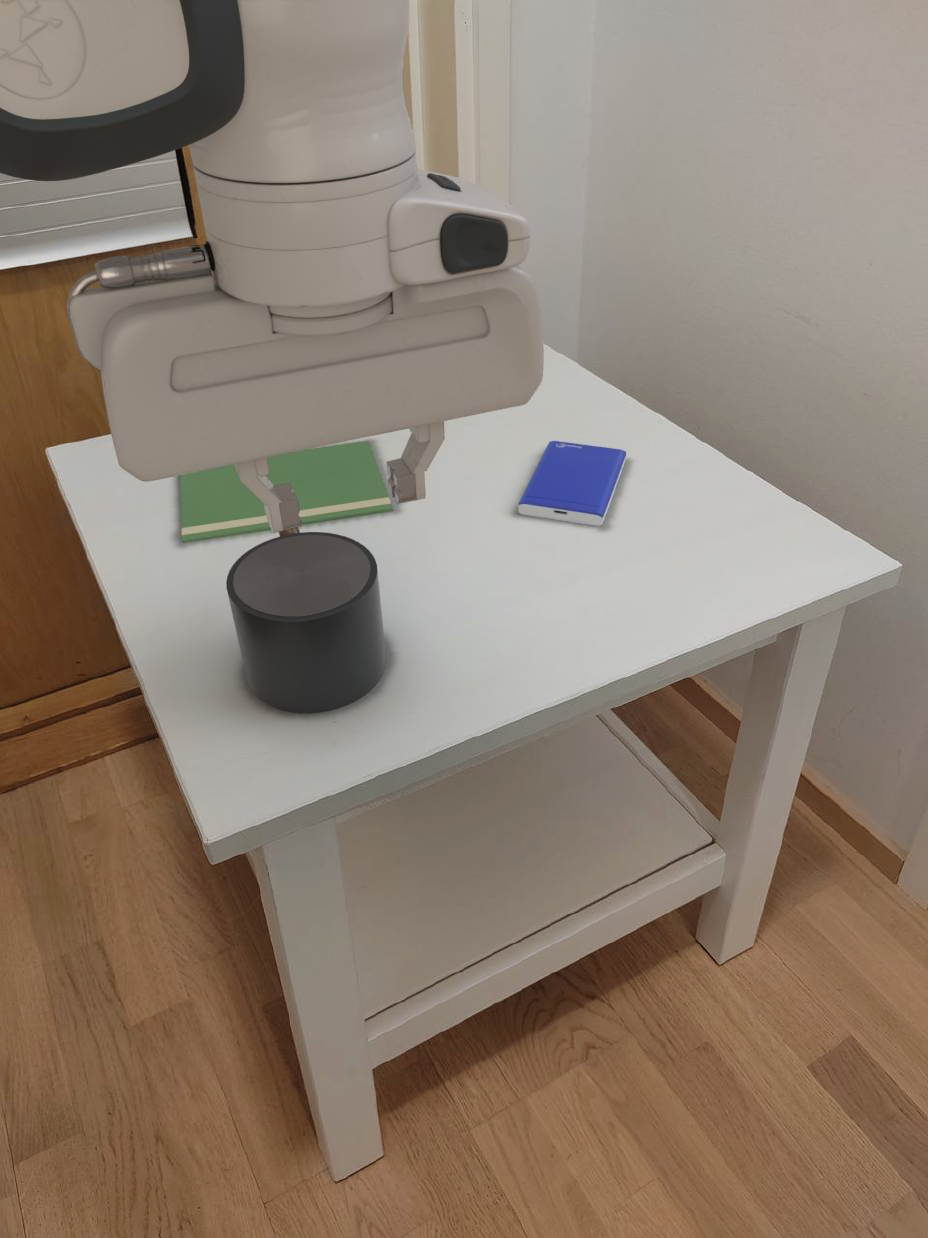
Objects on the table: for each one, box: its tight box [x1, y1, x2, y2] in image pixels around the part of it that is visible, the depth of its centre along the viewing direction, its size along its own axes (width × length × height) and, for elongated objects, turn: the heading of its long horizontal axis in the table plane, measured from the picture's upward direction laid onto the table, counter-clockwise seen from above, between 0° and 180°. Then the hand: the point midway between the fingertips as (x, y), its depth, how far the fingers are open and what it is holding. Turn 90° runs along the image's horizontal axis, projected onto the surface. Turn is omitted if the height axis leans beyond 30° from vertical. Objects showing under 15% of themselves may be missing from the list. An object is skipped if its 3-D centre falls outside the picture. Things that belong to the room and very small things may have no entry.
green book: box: [179, 440, 394, 544], centre depth 96 cm, size 20×14×1 cm
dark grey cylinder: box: [225, 527, 387, 714], centre depth 75 cm, size 17×11×9 cm, turn 17°
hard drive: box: [518, 440, 627, 527], centre depth 95 cm, size 2×8×12 cm
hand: (347, 510), depth 48 cm, fingers open, 5 cm apart
